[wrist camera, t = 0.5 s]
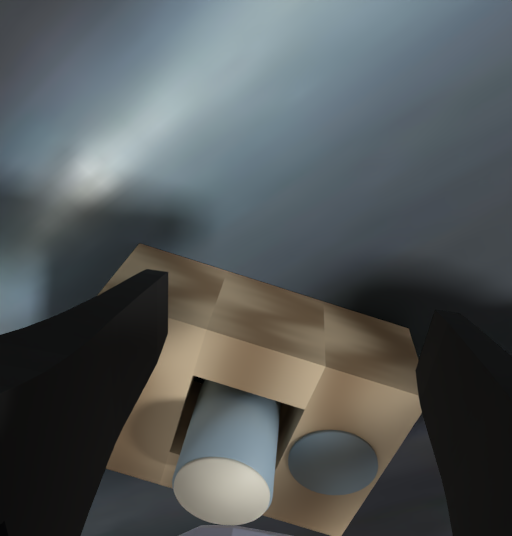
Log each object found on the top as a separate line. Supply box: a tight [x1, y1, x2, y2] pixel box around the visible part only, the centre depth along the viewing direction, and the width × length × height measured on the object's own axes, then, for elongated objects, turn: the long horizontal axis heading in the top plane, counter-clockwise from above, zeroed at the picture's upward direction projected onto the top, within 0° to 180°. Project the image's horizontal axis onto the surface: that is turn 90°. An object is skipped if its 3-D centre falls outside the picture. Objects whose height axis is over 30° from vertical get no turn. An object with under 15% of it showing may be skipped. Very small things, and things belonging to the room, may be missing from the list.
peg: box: [172, 379, 281, 525], centre depth 20 cm, size 4×4×5 cm
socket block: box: [97, 243, 422, 536], centre depth 23 cm, size 14×10×5 cm
